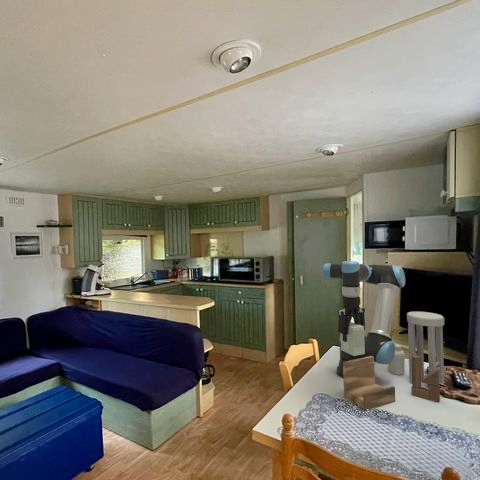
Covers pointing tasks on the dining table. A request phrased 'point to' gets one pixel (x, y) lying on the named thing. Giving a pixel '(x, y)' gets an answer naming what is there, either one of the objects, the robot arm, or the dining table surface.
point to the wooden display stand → (364, 384)
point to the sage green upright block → (354, 340)
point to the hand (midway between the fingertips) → (352, 347)
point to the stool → (433, 356)
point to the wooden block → (429, 379)
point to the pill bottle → (397, 361)
